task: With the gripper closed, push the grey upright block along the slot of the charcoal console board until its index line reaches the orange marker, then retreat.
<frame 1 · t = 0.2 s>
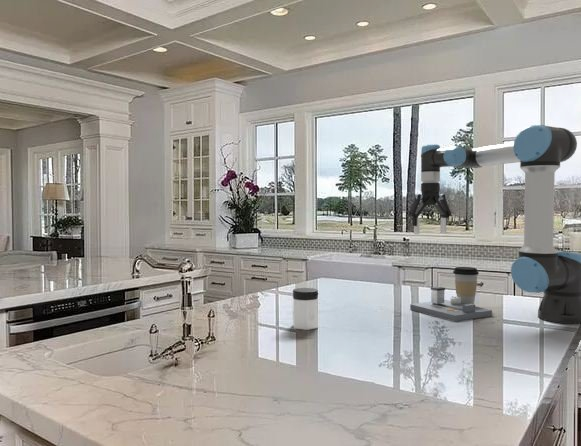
hand: (430, 233, 204), 27 cm above the counter, fingers open, 13 cm apart
console: (449, 312, 179), on the counter
jar: (305, 327, 159), on the counter
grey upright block: (437, 294, 184), point 6 cm above the counter, slide at 0.0 cm
coffee cup: (465, 307, 189), on the counter
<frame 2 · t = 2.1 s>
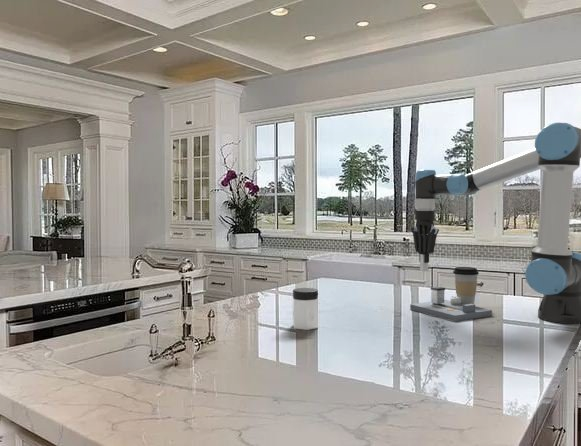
hand: (424, 270, 190), 14 cm above the counter, fingers closed
nothing on the counter moved.
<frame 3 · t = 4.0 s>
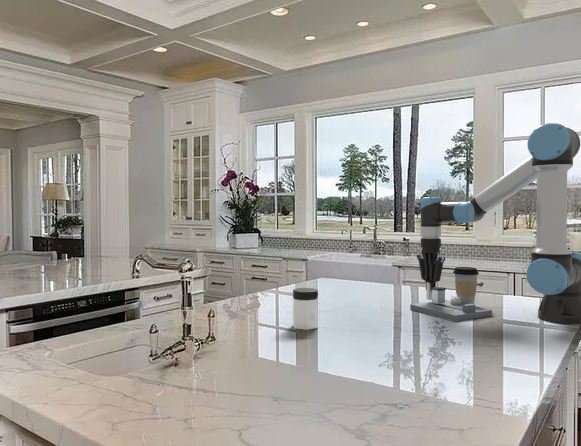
hand: (430, 299, 187), 3 cm above the counter, fingers closed
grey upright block: (438, 295, 184), point 5 cm above the counter, slide at 0.3 cm, touching gripper
everything else where it was.
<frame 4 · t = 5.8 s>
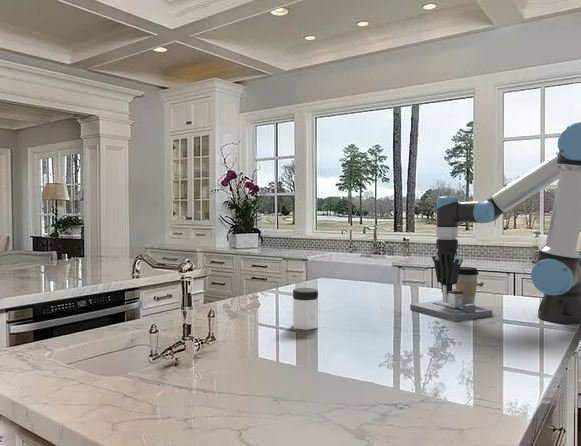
hand: (446, 302, 180), 3 cm above the counter, fingers closed
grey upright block: (455, 298, 176), point 5 cm above the counter, slide at 8.5 cm, touching gripper
everything else where it was.
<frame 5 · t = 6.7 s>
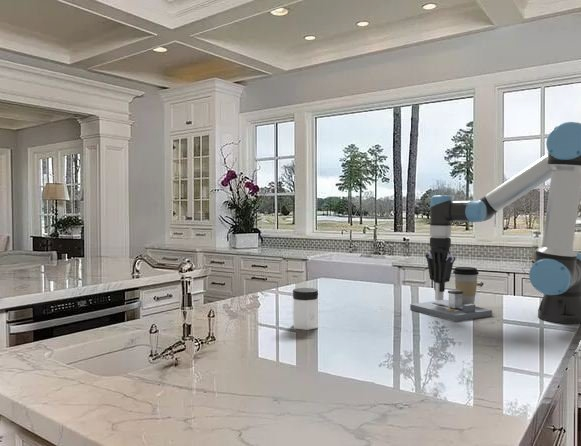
hand: (439, 299, 183), 4 cm above the counter, fingers closed
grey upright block: (455, 298, 176), point 6 cm above the counter, slide at 8.6 cm
everything else where it was.
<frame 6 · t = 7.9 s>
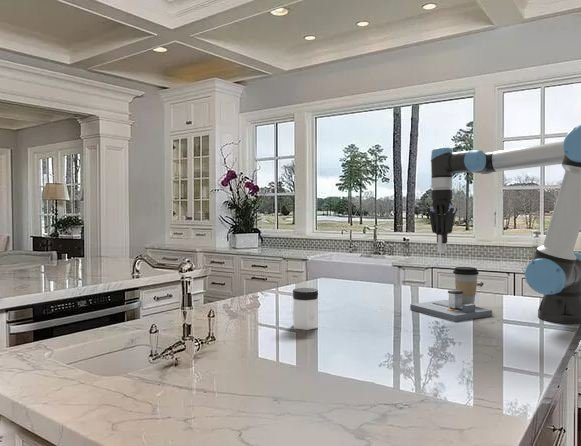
hand: (442, 251, 185), 22 cm above the counter, fingers closed
nothing on the counter moved.
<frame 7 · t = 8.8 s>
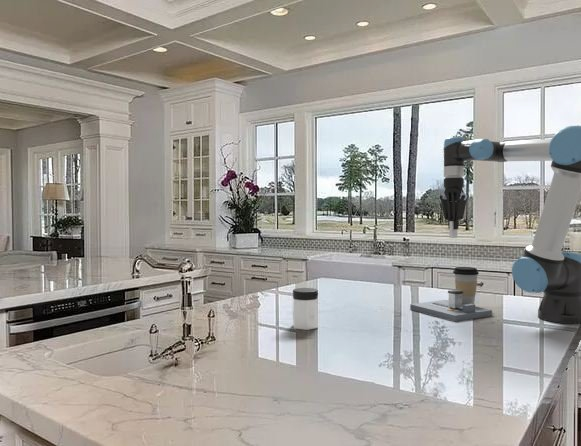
hand: (453, 237, 192), 26 cm above the counter, fingers closed
nothing on the counter moved.
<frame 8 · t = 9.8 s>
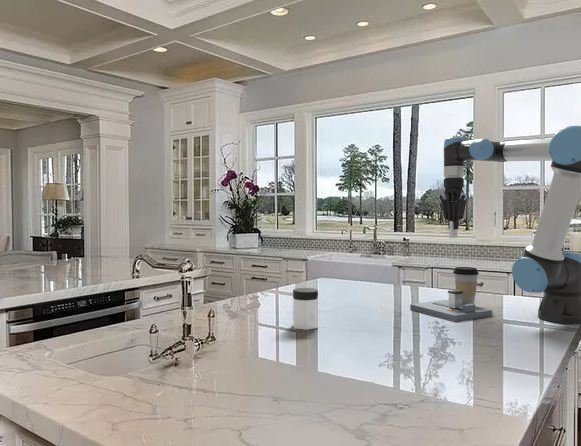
hand: (453, 237, 192), 26 cm above the counter, fingers closed
nothing on the counter moved.
at the end: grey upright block slide at 8.6 cm; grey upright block touching nothing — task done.
